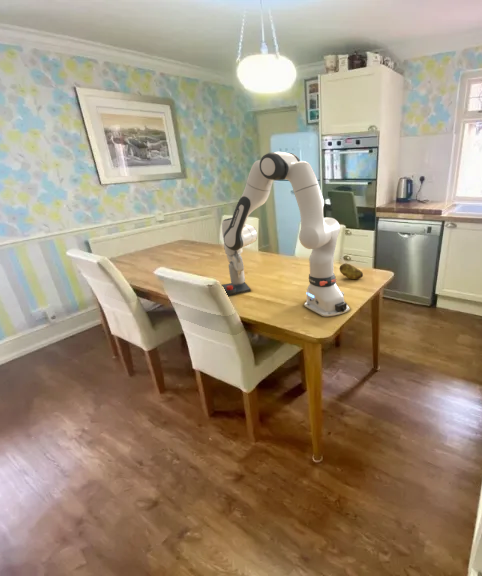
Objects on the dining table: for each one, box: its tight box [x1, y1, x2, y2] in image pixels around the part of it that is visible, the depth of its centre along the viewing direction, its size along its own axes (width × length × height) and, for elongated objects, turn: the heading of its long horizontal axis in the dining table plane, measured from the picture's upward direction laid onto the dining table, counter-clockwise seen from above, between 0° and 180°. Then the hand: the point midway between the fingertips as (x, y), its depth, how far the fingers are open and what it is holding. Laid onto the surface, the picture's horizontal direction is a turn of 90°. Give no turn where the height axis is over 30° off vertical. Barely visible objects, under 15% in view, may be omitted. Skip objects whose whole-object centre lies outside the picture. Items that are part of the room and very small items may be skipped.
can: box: [228, 261, 246, 285], centre depth 169 cm, size 8×8×12 cm
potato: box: [339, 263, 364, 280], centre depth 179 cm, size 8×13×8 cm, turn 50°
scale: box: [221, 281, 251, 297], centre depth 169 cm, size 15×13×3 cm
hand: (237, 274), depth 169 cm, fingers closed on can, 7 cm apart
